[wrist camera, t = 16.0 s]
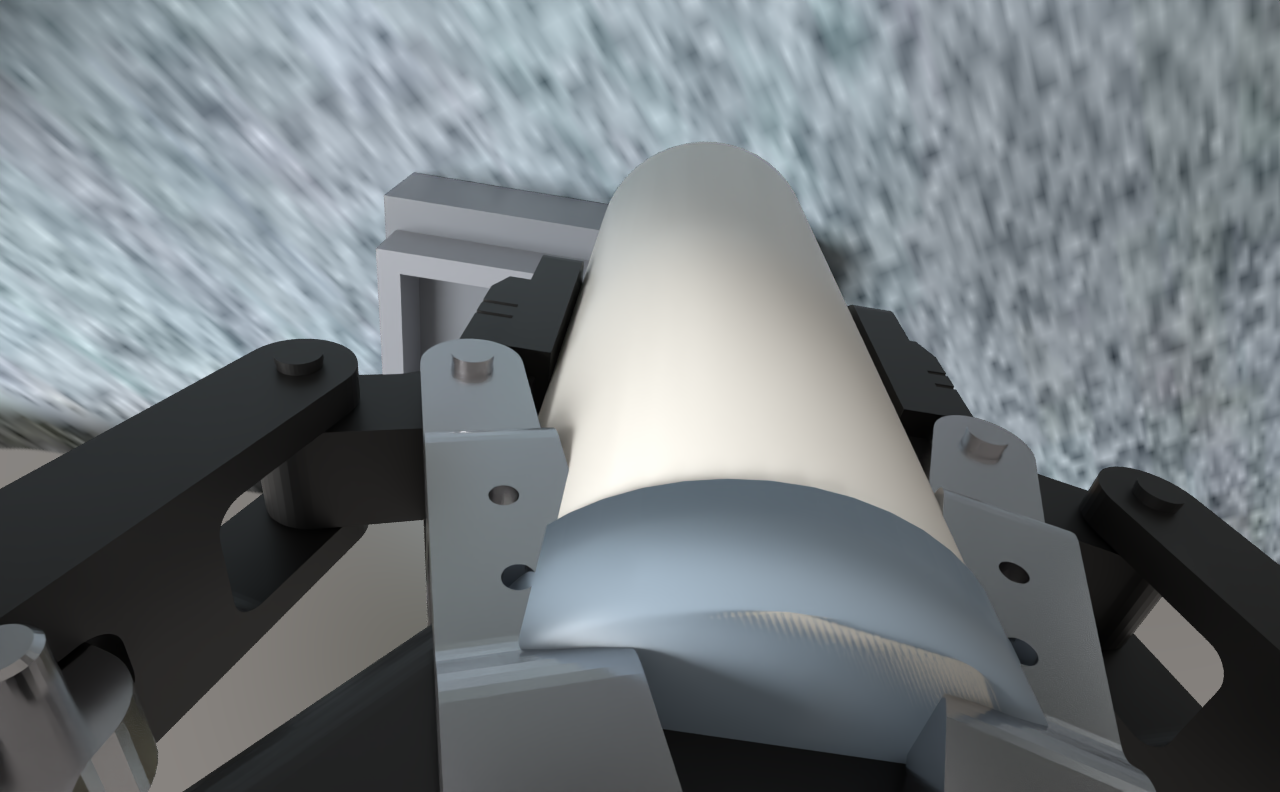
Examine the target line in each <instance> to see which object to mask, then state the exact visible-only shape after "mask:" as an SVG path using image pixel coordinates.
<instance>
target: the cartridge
mask: <svg viewBox="0 0 1280 792" xmlns="http://www.w3.org/2000/svg"><path fill="white" fill-rule="evenodd" d="M538 419H539V423H540V427H541V428H545V427H554V428H555V429H556V431H557V433H558V435H559V438H560V442H561V445H562V448H563V452H564V455H565V458H566V461H567V465H568V468H569V472H568V476H567V481H566V485H565V489H564V493H563V498H562V502H561V506H560V511H559V515H558V519H557V520H555V521H554V522H552V523H550V524H548V525H547V527H546V531H545V535H544V539H543V543H542V547H541V551H540V555H539V559H538V563H537V567H536V571H535V573H534V572H527V573H525V574H523V575H522V576H521V577H519V578H518V579H517V580H516V581H515V582H513V583H512V584H511V586H510V587H509V588H510V589H512V590H524V589H527V588H529V587H531V586H532V587H531V591H530V595H529V599H528V603H527V607H526V611H525V615H524V619H523V623H522V627H521V631H520V635H519V647H520V649H566V648H589V647H623V648H634V650H635V651H636V653H637V655H638V657H639V660H640V662H641V665H642V668H643V670H644V673H645V676H646V679H647V683H648V686H649V689H650V692H651V695H652V698H653V701H654V704H655V707H656V711H657V714H658V717H659V720H660V723H661V726H662V729H666V730H673V731H680V732H687V733H694V734H701V735H708V736H715V737H722V738H729V739H736V740H743V741H750V742H757V743H764V744H771V745H778V746H785V747H792V748H799V749H806V750H813V751H820V752H827V753H834V754H841V755H848V756H855V757H862V758H869V759H876V760H883V761H890V762H897V763H904V764H906V759H907V754H908V752H909V751H910V749H911V747H912V746H913V744H914V742H915V741H916V739H917V737H918V736H919V734H920V733H921V731H922V729H923V728H924V726H925V724H926V723H927V721H928V719H929V718H930V716H931V714H932V713H933V711H934V709H935V708H936V706H937V704H938V703H939V701H940V700H941V698H942V696H943V695H944V693H945V694H949V695H952V696H956V697H959V698H962V699H966V700H969V701H972V702H976V703H979V704H982V705H984V706H987V707H990V708H992V709H995V710H998V711H1000V712H1003V713H1006V714H1009V715H1011V716H1014V717H1017V718H1020V719H1023V720H1026V721H1030V722H1033V723H1037V724H1041V725H1045V726H1049V725H1048V723H1047V721H1046V718H1045V716H1044V714H1043V712H1042V710H1041V708H1040V705H1039V703H1038V701H1037V699H1036V697H1035V695H1034V693H1033V691H1032V689H1031V686H1030V684H1029V682H1028V680H1027V678H1026V676H1025V674H1024V672H1023V670H1022V667H1021V665H1020V664H1021V663H1020V661H1019V659H1018V656H1017V654H1016V652H1015V650H1014V648H1013V646H1012V644H1011V642H1010V640H1009V639H1008V638H1007V636H1006V634H1005V632H1004V629H1003V627H1002V625H1001V623H1000V621H999V619H998V617H997V615H996V613H995V610H994V608H993V606H992V604H991V602H990V600H989V598H988V596H987V594H986V591H985V590H984V589H983V587H982V586H981V584H980V583H979V581H978V580H977V578H976V577H975V575H974V574H973V573H972V572H971V571H970V570H969V569H968V567H967V566H966V565H965V563H964V561H963V559H962V557H961V554H960V552H959V550H958V548H957V546H956V544H955V541H954V539H953V537H952V535H951V533H950V531H949V528H948V526H947V524H946V522H945V520H944V518H943V515H942V511H941V508H940V505H939V503H938V501H937V499H936V497H935V494H934V492H933V490H932V488H931V486H930V484H929V482H928V479H927V477H926V475H925V473H924V471H923V469H922V466H921V464H920V462H919V460H918V458H917V456H916V453H915V451H914V449H913V447H912V445H911V443H910V441H909V438H908V436H907V434H906V432H905V430H904V428H903V425H902V423H901V421H900V419H899V417H898V415H897V413H896V410H895V408H894V406H893V404H892V402H891V400H890V397H889V395H888V393H887V391H886V389H885V387H884V385H883V382H882V380H881V378H880V376H879V374H878V372H877V369H876V367H875V365H874V363H873V361H872V359H871V357H870V354H869V352H868V350H867V348H866V346H865V344H864V341H863V339H862V337H861V335H860V333H859V331H858V329H857V326H856V324H855V322H854V320H853V318H852V316H851V313H850V311H849V309H848V307H847V305H846V303H845V300H844V298H843V296H842V294H841V292H840V290H839V288H838V285H837V283H836V281H835V279H834V277H833V275H832V272H831V270H830V268H829V266H828V264H827V262H826V260H825V257H824V255H823V253H822V251H821V249H820V247H819V244H818V242H817V240H816V238H815V236H814V234H813V232H812V229H811V227H810V225H809V223H808V221H807V219H806V216H805V214H804V212H803V210H802V208H801V206H800V204H799V201H798V199H797V197H796V195H795V193H794V191H793V190H792V188H791V187H790V185H789V183H788V182H787V181H786V180H785V178H784V177H783V176H782V175H781V174H780V173H779V172H778V171H777V170H776V169H775V168H774V167H773V166H772V165H771V164H769V163H768V162H767V161H765V160H764V159H762V158H761V157H759V156H758V155H756V154H754V153H752V152H749V151H747V150H745V149H743V148H739V147H736V146H733V145H729V144H723V143H717V142H696V143H687V144H683V145H679V146H675V147H672V148H669V149H666V150H664V151H661V152H659V153H657V154H655V155H654V156H652V157H650V158H648V159H647V160H645V161H644V162H643V163H641V164H640V165H639V166H637V167H636V168H635V169H634V170H633V171H632V172H631V173H630V174H629V175H628V176H627V177H626V178H625V179H624V180H623V182H622V183H621V184H620V186H619V187H618V188H617V190H616V191H615V193H614V195H613V197H612V198H611V200H610V202H609V205H608V207H607V210H606V212H605V215H604V218H603V221H602V224H601V227H600V230H599V233H598V236H597V239H596V242H595V245H594V248H593V251H592V254H591V258H590V261H589V264H588V267H587V270H586V273H585V276H584V279H583V282H582V285H581V289H580V292H579V295H578V298H577V301H576V304H575V307H574V310H573V313H572V316H571V319H570V322H569V325H568V328H567V331H566V334H565V337H564V340H563V343H562V346H561V350H560V353H559V356H558V359H557V362H556V365H555V368H554V371H553V374H552V377H551V380H550V383H549V386H548V389H547V391H546V394H545V397H544V400H543V403H542V406H541V409H540V412H539V416H538Z"/></svg>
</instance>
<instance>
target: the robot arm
mask: <svg viewBox="0 0 1280 792" xmlns="http://www.w3.org/2000/svg"><path fill="white" fill-rule="evenodd" d="M583 272H584V261H580V260H574V259H567V258H561V257H555V256H549V255H543V256H542V258H541V260H540V262H539V264H538V266H537V268H536V270H535V272H534V274H533V276H532V278H531V279H525V278H518V277H512V276H509V277H507V278H506V279H504V280H502V281H500V282H498V283H496V284H494V285H492V286H491V287H490V289H489V291H488V292H487V294H486V296H485V297H484V299H483V302H481V304H480V305H479V307H478V309H477V313H475V314H474V315H473V317H472V319H471V320H470V322H469V324H468V325H467V327H466V329H465V330H464V332H463V334H462V335H461V337H460V339H456V340H450V341H446V342H442V343H439V344H437V345H435V346H433V347H431V348H430V349H428V350H427V351H426V352H425V353H424V354H423V356H422V357H421V361H420V371H416V372H410V373H403V374H379V375H359V374H358V361H357V358H356V356H355V354H354V353H353V352H352V351H351V350H349V349H348V348H346V347H344V346H343V345H340V344H337V343H334V342H330V341H325V340H319V339H293V340H285V341H279V342H275V343H271V344H268V345H265V346H263V347H260V348H258V349H256V350H254V351H252V352H250V353H249V354H247V355H245V356H243V357H241V358H239V359H238V360H236V361H234V362H232V363H230V364H228V365H227V366H225V367H223V368H221V369H219V370H217V371H216V372H214V373H212V374H210V375H208V376H206V377H205V378H203V379H201V380H199V381H197V382H195V383H194V384H192V385H190V386H188V387H186V388H184V389H183V390H181V391H179V392H177V393H175V394H173V395H172V396H170V397H168V398H166V399H164V400H162V401H161V402H159V403H157V404H155V405H153V406H151V407H150V408H148V409H146V410H144V411H142V412H140V413H139V414H137V415H135V416H133V417H131V418H129V419H128V420H126V421H124V422H122V423H120V424H118V425H117V426H115V427H113V428H111V429H109V430H107V431H106V432H104V433H102V434H100V435H98V436H96V437H95V438H93V439H91V440H89V441H87V442H85V443H84V444H82V445H80V446H78V447H76V448H74V449H73V450H71V451H69V452H67V453H65V454H63V455H62V456H60V457H58V458H56V459H55V460H53V461H51V462H49V463H47V464H45V465H43V466H41V467H40V468H38V469H36V470H34V471H32V472H30V473H29V474H27V475H25V476H23V477H21V478H19V479H18V480H16V481H14V482H12V483H10V484H9V485H7V486H5V487H3V488H1V489H0V792H148V790H149V789H150V787H151V785H152V782H153V779H154V777H155V774H156V770H157V765H158V749H157V746H156V743H157V742H158V741H159V740H160V739H161V738H162V737H163V736H164V735H165V734H166V733H167V732H168V731H169V730H170V729H171V728H172V727H173V726H174V725H175V724H176V723H177V722H178V721H179V720H180V719H181V718H182V717H183V716H184V715H185V714H186V713H187V711H189V710H190V709H191V708H192V707H193V706H194V705H195V704H196V703H197V702H198V700H200V699H201V698H202V697H203V696H204V695H205V694H206V693H207V692H208V691H209V690H210V689H211V688H212V687H213V686H214V685H215V684H216V683H217V682H218V681H219V680H220V679H221V678H222V677H223V676H224V674H226V673H227V672H228V671H229V670H230V669H231V667H232V666H234V665H235V664H236V662H238V661H239V660H240V658H242V657H243V656H244V654H246V653H247V652H248V651H249V650H250V648H252V646H254V645H255V643H257V642H258V641H259V640H260V639H261V637H263V635H264V634H266V632H268V631H269V630H270V629H271V628H272V627H273V625H275V623H277V621H278V620H279V619H281V617H282V616H283V615H284V614H285V613H286V612H287V611H288V610H289V609H290V608H291V607H292V606H293V605H294V604H295V603H296V602H297V601H298V600H299V599H300V598H301V597H302V596H303V595H304V594H305V593H306V592H307V591H308V590H309V589H310V588H311V587H312V586H313V585H314V584H315V583H316V582H317V581H318V580H319V579H320V578H321V577H322V576H323V575H324V574H325V573H326V572H327V571H328V570H329V569H330V568H331V567H332V566H333V565H334V564H335V563H336V562H337V561H338V560H339V559H340V558H341V557H342V556H343V555H344V554H345V553H346V552H347V551H348V550H349V549H350V548H351V547H352V546H353V545H354V544H355V543H356V542H357V541H358V540H359V539H360V538H361V537H362V536H363V534H364V533H365V531H366V530H367V528H368V524H380V523H391V522H403V521H414V520H423V521H424V546H425V573H426V598H427V628H425V629H424V630H422V631H421V632H419V633H418V634H416V635H415V636H413V637H412V638H410V639H409V640H407V641H406V642H404V643H403V644H401V645H400V646H398V647H397V648H395V649H394V650H393V651H391V652H389V653H388V654H387V655H385V656H383V657H382V658H381V659H379V660H378V661H376V662H375V663H373V664H372V665H370V666H369V667H367V668H366V669H364V670H363V671H361V672H360V673H358V674H357V675H355V676H354V677H352V678H351V679H349V680H348V681H346V682H345V683H343V684H342V685H341V686H339V687H338V688H336V689H335V690H333V691H332V692H330V693H329V694H327V695H326V696H324V697H323V698H321V699H320V700H318V701H317V702H315V703H314V704H312V705H311V706H309V707H308V708H306V709H305V710H303V711H302V712H300V713H299V714H297V715H296V716H295V717H293V718H291V719H290V720H289V721H287V722H286V723H284V724H283V725H281V726H280V727H278V728H277V729H275V730H274V731H272V732H271V733H269V734H268V735H266V736H265V737H264V738H262V739H260V740H259V741H257V742H256V743H254V744H253V745H251V746H250V747H248V748H247V749H246V750H244V751H243V752H241V753H240V754H238V755H237V756H235V757H234V758H232V759H231V760H229V761H228V762H226V763H225V764H223V765H222V766H220V767H219V768H217V769H216V770H214V771H213V772H211V773H210V774H208V775H207V776H205V777H204V778H203V779H201V780H199V781H198V782H197V783H195V784H194V785H192V786H191V787H189V788H188V789H186V790H185V791H183V792H1280V565H1279V564H1277V563H1276V562H1275V561H1274V560H1272V559H1271V558H1270V557H1269V556H1267V555H1266V554H1265V553H1263V552H1262V551H1261V550H1260V549H1258V548H1257V547H1256V546H1255V545H1253V544H1252V543H1251V542H1250V541H1248V540H1247V539H1246V538H1245V537H1243V536H1242V535H1241V534H1240V533H1238V532H1237V531H1236V530H1234V529H1233V528H1232V527H1231V526H1229V525H1228V524H1227V523H1226V522H1224V521H1223V520H1222V519H1221V518H1219V517H1218V516H1217V515H1216V514H1214V513H1213V512H1212V511H1211V510H1209V509H1208V508H1207V507H1206V506H1204V505H1203V504H1202V503H1200V502H1199V501H1198V500H1197V499H1195V498H1194V497H1193V496H1191V495H1190V494H1189V493H1187V492H1186V491H1184V490H1182V489H1181V488H1179V487H1178V486H1176V485H1174V484H1172V483H1170V482H1168V481H1166V480H1164V479H1162V478H1160V477H1157V476H1155V475H1152V474H1150V473H1147V472H1143V471H1140V470H1136V469H1132V468H1126V467H1108V468H1105V469H1103V470H1102V471H1100V473H1099V474H1098V476H1097V478H1096V479H1095V481H1094V482H1093V484H1092V486H1091V487H1090V489H1089V490H1088V491H1087V490H1084V489H1081V488H1078V487H1075V486H1072V485H1069V484H1066V483H1063V482H1060V481H1057V480H1054V479H1051V478H1048V477H1045V476H1043V475H1040V474H1037V467H1036V460H1035V457H1034V454H1033V452H1032V451H1031V449H1030V448H1029V447H1028V446H1027V445H1026V444H1025V443H1024V442H1023V441H1022V440H1021V439H1019V438H1018V437H1017V436H1015V435H1014V434H1012V433H1011V432H1009V431H1007V430H1006V429H1004V428H1002V427H1000V426H998V425H995V424H993V423H990V422H988V421H985V420H982V419H978V418H974V417H973V416H972V414H971V413H970V411H969V410H968V408H967V406H966V405H965V403H964V402H963V400H962V398H961V397H960V395H959V394H958V392H957V390H955V389H953V388H954V386H953V384H952V382H951V381H950V379H949V378H948V376H945V374H946V373H945V371H944V370H943V368H942V367H941V365H940V363H939V362H938V360H937V359H936V357H935V356H933V355H932V354H931V353H929V352H928V351H927V350H926V349H924V348H923V347H922V346H920V345H919V344H918V343H917V342H914V341H909V339H908V337H907V336H906V334H905V332H904V330H903V329H902V327H901V325H900V324H899V322H898V320H897V319H896V317H895V315H894V314H893V312H891V311H886V310H880V309H874V308H868V307H861V306H855V305H850V306H848V309H849V311H850V313H851V316H852V318H853V320H854V322H855V324H856V326H857V329H858V331H859V333H860V335H861V337H862V339H863V341H864V344H865V346H866V348H867V350H868V352H869V354H870V357H871V359H872V361H873V363H874V365H875V367H876V369H877V372H878V374H879V376H880V378H881V380H882V382H883V385H884V387H885V389H886V391H887V393H888V395H889V397H890V400H891V402H892V404H893V406H894V408H895V410H896V413H897V415H898V417H899V419H900V421H901V423H902V425H903V428H904V430H905V432H906V434H907V436H908V438H909V441H910V443H911V445H912V447H913V449H914V451H915V453H916V456H917V458H918V460H919V462H920V464H921V466H922V469H923V471H924V473H925V475H926V477H927V479H928V482H929V484H930V486H931V488H932V490H933V492H934V494H935V497H936V499H937V501H938V503H939V505H940V508H941V511H942V515H943V518H944V520H945V522H946V524H947V526H948V528H949V531H950V533H951V535H952V537H953V539H954V541H955V544H956V546H957V548H958V550H959V552H960V554H961V557H962V559H963V561H964V563H965V565H966V566H967V567H968V569H969V570H970V571H971V572H972V573H973V574H974V575H975V577H976V578H977V580H978V581H979V583H980V584H981V586H982V587H983V589H984V590H985V591H986V594H987V596H988V598H989V600H990V602H991V604H992V606H993V608H994V610H995V613H996V615H997V617H998V619H999V621H1000V623H1001V625H1002V627H1003V629H1004V632H1005V634H1006V636H1007V638H1008V639H1009V640H1010V642H1011V644H1012V646H1013V648H1014V650H1015V652H1016V654H1017V656H1018V659H1019V661H1020V663H1021V664H1020V665H1021V667H1022V670H1023V672H1024V674H1025V676H1026V678H1027V680H1028V682H1029V684H1030V686H1031V689H1032V691H1033V693H1034V695H1035V697H1036V699H1037V701H1038V703H1039V705H1040V708H1041V710H1042V712H1043V714H1044V716H1045V718H1046V721H1047V723H1048V725H1049V726H1045V725H1041V724H1037V723H1033V722H1030V721H1026V720H1023V719H1020V718H1017V717H1014V716H1011V715H1009V714H1006V713H1003V712H1000V711H998V710H995V709H992V708H990V707H987V706H984V705H982V704H979V703H976V702H972V701H969V700H966V699H962V698H959V697H956V696H952V695H949V694H945V693H944V695H943V696H942V698H941V700H940V701H939V703H938V704H937V706H936V708H935V709H934V711H933V713H932V714H931V716H930V718H929V719H928V721H927V723H926V724H925V726H924V728H923V729H922V731H921V733H920V734H919V736H918V737H917V739H916V741H915V742H914V744H913V746H912V747H911V749H910V751H909V752H908V754H907V759H906V764H904V763H897V762H890V761H883V760H876V759H869V758H862V757H855V756H848V755H841V754H834V753H827V752H820V751H813V750H806V749H799V748H792V747H785V746H778V745H771V744H764V743H757V742H750V741H743V740H736V739H729V738H722V737H715V736H708V735H701V734H694V733H687V732H680V731H673V730H666V729H662V726H661V723H660V720H659V717H658V714H657V711H656V707H655V704H654V701H653V698H652V695H651V692H650V689H649V686H648V683H647V679H646V676H645V673H644V670H643V668H642V665H641V662H640V660H639V657H638V655H637V653H636V651H635V650H634V648H623V647H589V648H566V649H520V647H519V635H520V631H521V627H522V623H523V619H524V615H525V611H526V607H527V603H528V599H529V595H530V591H531V587H532V586H531V587H529V588H527V589H524V590H512V589H510V588H509V587H510V586H511V584H512V583H513V582H515V581H516V580H517V579H518V578H519V577H521V576H522V575H523V574H525V573H527V572H534V573H535V571H536V567H537V563H538V559H539V555H540V551H541V547H542V543H543V539H544V535H545V531H546V527H547V525H548V524H550V523H552V522H554V521H555V520H557V519H558V515H559V511H560V506H561V502H562V498H563V493H564V489H565V485H566V481H567V476H568V472H569V468H568V465H567V461H566V458H565V455H564V452H563V448H562V445H561V442H560V438H559V435H558V433H557V431H556V429H555V428H554V427H545V428H541V427H540V423H539V419H538V416H539V412H540V409H541V406H542V403H543V400H544V397H545V394H546V391H547V389H548V386H549V383H550V380H551V377H552V374H553V371H554V368H555V365H556V362H557V359H558V356H559V353H560V350H561V346H562V343H563V340H564V337H565V334H566V331H567V328H568V325H569V322H570V319H571V316H572V313H573V310H574V307H575V304H576V301H577V298H578V295H579V292H580V289H581V285H582V282H583ZM260 480H261V482H262V488H263V494H262V495H260V496H259V497H258V498H257V499H256V500H254V501H253V502H252V503H250V504H249V505H248V506H246V507H245V508H244V509H242V510H241V511H240V512H239V513H237V514H236V515H235V516H234V517H232V518H231V519H230V520H229V521H227V522H226V523H224V524H223V525H222V526H221V523H222V520H223V518H224V516H225V514H226V512H227V510H228V508H229V507H230V505H231V504H232V503H233V502H234V501H235V500H236V499H237V498H238V497H239V496H240V495H241V494H243V493H244V492H245V491H247V490H248V489H249V488H251V487H252V486H253V485H255V484H256V483H257V482H259V481H260ZM1161 597H1164V599H1165V600H1167V602H1168V603H1170V604H1171V605H1172V606H1173V607H1174V608H1175V609H1176V610H1177V611H1178V612H1179V613H1180V614H1181V615H1182V616H1183V617H1184V618H1185V619H1186V620H1187V621H1188V622H1189V623H1190V624H1191V625H1192V626H1193V627H1194V628H1195V629H1196V630H1197V631H1198V632H1199V633H1200V634H1201V635H1202V636H1204V638H1206V640H1207V641H1208V642H1209V643H1210V644H1211V645H1212V646H1213V647H1214V648H1215V650H1216V651H1217V653H1218V654H1219V656H1220V659H1221V661H1222V664H1223V669H1224V679H1223V684H1222V686H1221V688H1220V689H1219V690H1218V691H1217V693H1216V694H1215V695H1214V696H1213V697H1212V698H1211V699H1210V700H1209V701H1208V702H1207V703H1206V704H1205V705H1204V706H1203V708H1202V706H1201V705H1200V704H1199V703H1198V702H1197V701H1196V700H1195V699H1194V698H1193V697H1192V696H1191V695H1190V694H1189V693H1188V691H1187V690H1186V689H1184V687H1183V686H1182V685H1181V684H1180V683H1179V682H1178V681H1177V680H1176V679H1175V678H1174V676H1173V675H1172V674H1171V673H1170V672H1169V671H1168V670H1167V669H1166V668H1165V667H1164V666H1163V665H1162V664H1161V663H1160V661H1159V660H1158V659H1157V658H1156V657H1155V656H1154V655H1153V654H1152V653H1151V652H1150V651H1149V650H1148V649H1147V648H1146V647H1145V645H1144V644H1143V643H1142V642H1141V641H1140V640H1139V639H1138V638H1137V637H1136V636H1135V635H1134V634H1133V633H1134V632H1135V630H1136V629H1137V628H1138V627H1139V625H1140V624H1141V623H1142V622H1143V620H1144V619H1145V618H1146V616H1147V615H1148V614H1149V613H1150V611H1151V610H1152V609H1153V607H1154V606H1155V605H1156V604H1157V602H1158V601H1159V600H1160V598H1161Z"/></svg>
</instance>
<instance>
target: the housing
mask: <svg viewBox="0 0 1280 792" xmlns="http://www.w3.org/2000/svg"><path fill="white" fill-rule="evenodd" d="M608 205H609V204H603V203H597V202H591V201H585V200H578V199H572V198H566V197H560V196H554V195H548V194H542V193H536V192H529V191H523V190H517V189H511V188H505V187H499V186H493V185H487V184H480V183H474V182H468V181H462V180H456V179H450V178H444V177H438V176H431V175H425V174H419V173H412V174H411V175H410V176H408V177H407V178H406V179H405V180H403V181H402V182H401V183H399V184H398V185H397V186H395V187H394V188H393V189H392V190H390V191H389V192H388V193H386V194H385V195H384V207H385V229H386V240H384V241H383V242H382V243H381V244H380V245H379V246H378V247H377V248H376V261H377V279H378V298H379V317H380V335H381V354H382V373H383V374H403V373H410V372H416V371H420V361H421V357H422V356H423V354H424V353H425V352H426V351H427V350H428V349H430V348H431V347H433V346H435V345H437V344H439V343H442V342H446V341H450V340H456V339H460V337H461V335H462V334H463V332H464V330H465V329H466V327H467V325H468V324H469V322H470V320H471V319H472V317H473V315H474V314H475V313H477V309H478V307H479V305H480V304H481V302H483V299H484V297H485V296H486V294H487V292H488V291H489V289H490V287H491V286H492V285H494V284H496V283H498V282H500V281H502V280H504V279H506V278H507V277H509V276H512V277H518V278H525V279H531V278H532V276H533V274H534V272H535V270H536V268H537V266H538V264H539V262H540V260H541V258H542V256H543V255H549V256H555V257H561V258H567V259H574V260H580V261H584V272H583V279H584V276H585V273H586V270H587V267H588V264H589V261H590V258H591V254H592V251H593V248H594V245H595V242H596V239H597V236H598V233H599V230H600V227H601V224H602V221H603V218H604V215H605V212H606V210H607V207H608Z"/></svg>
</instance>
